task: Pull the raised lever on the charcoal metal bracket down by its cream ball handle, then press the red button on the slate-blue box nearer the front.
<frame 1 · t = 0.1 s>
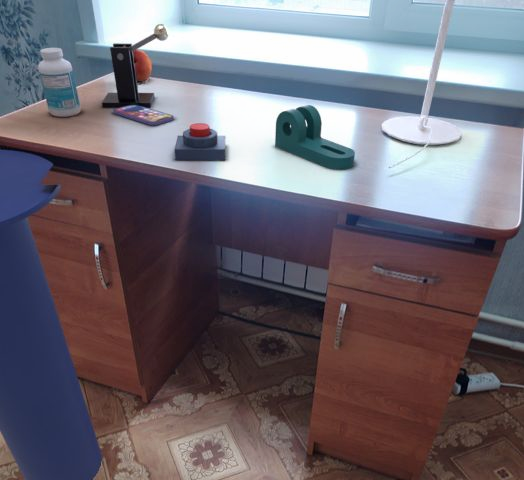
smartphone: (143, 117, 122), on the table, touching bracket
bracket: (129, 102, 130), on the table
desk lamp: (421, 146, 111), on the table
pill bottle: (65, 114, 123), on the table
button box: (201, 153, 105), on the table
button: (199, 130, 102), point 4 cm above the table, slide at 0.1 cm
bracket 2: (316, 155, 105), on the table
lever: (142, 43, 121), point 13 cm above the table, hinge at 25.0°
fruit: (140, 81, 146), on the table
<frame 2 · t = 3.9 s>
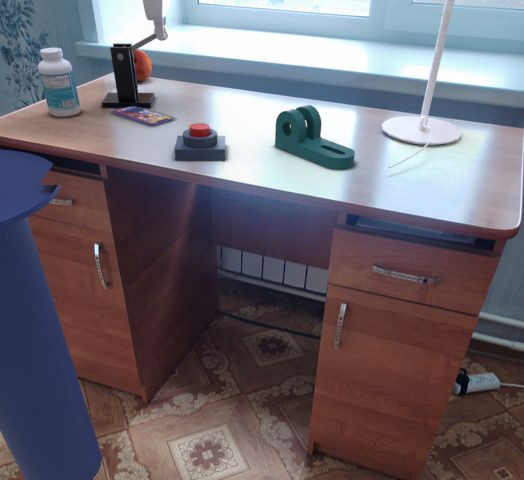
hand: (161, 36, 121), 15 cm above the table, tool pointing down, fingers closed on lever, 3 cm apart
smartphone: (143, 118, 122), on the table
lever: (142, 43, 121), point 13 cm above the table, hinge at 25.0°, touching gripper
everything else where it was.
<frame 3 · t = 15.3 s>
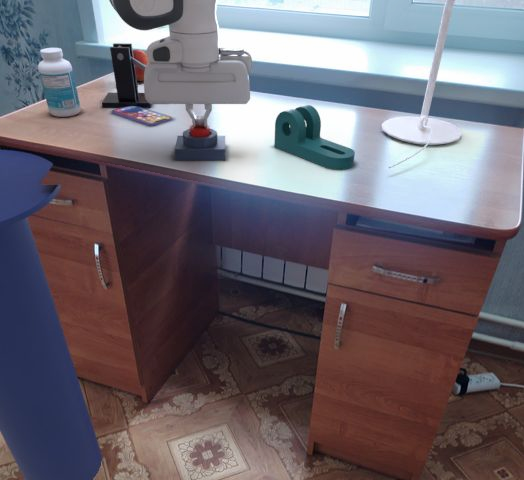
hand: (200, 126, 101), 5 cm above the table, tool pointing down, fingers closed, pressing on button
button: (200, 131, 102), point 4 cm above the table, slide at -0.1 cm, touching gripper
lever: (144, 67, 125), point 8 cm above the table, hinge at -30.5°
everything else where it was.
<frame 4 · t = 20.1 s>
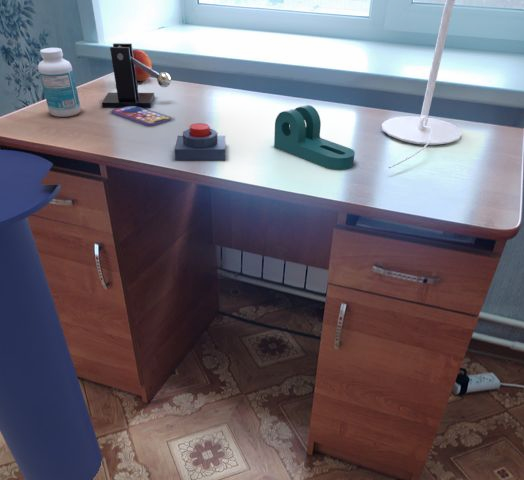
button: (199, 130, 102), point 4 cm above the table, slide at 0.1 cm
everything else where it was.
at the end: lever at -30° (first picture: +25°); button pushed in 1.1 cm at the most during the clip, back to where it started at the end; button slide at 0.1 cm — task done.
